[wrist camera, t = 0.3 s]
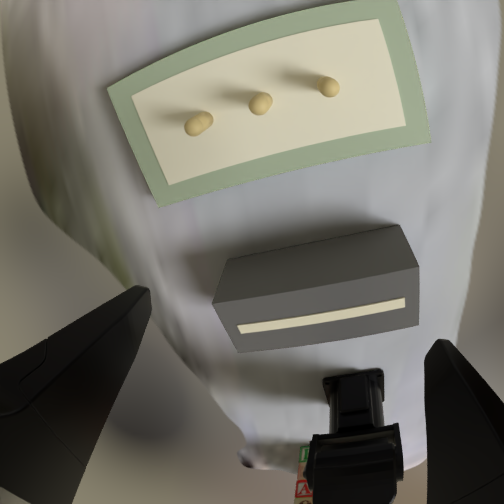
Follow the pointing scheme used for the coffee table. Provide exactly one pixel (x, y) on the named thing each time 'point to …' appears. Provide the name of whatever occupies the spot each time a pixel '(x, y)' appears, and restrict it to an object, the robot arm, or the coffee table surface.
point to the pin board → (274, 99)
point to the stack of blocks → (302, 480)
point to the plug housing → (320, 291)
